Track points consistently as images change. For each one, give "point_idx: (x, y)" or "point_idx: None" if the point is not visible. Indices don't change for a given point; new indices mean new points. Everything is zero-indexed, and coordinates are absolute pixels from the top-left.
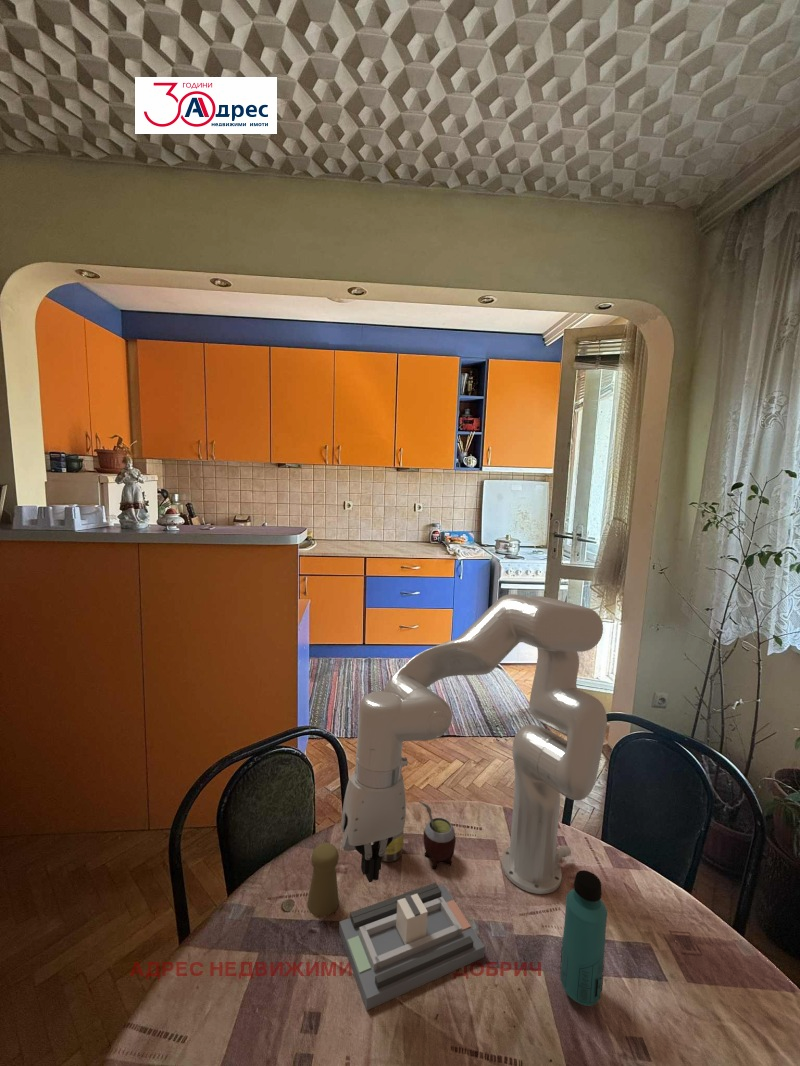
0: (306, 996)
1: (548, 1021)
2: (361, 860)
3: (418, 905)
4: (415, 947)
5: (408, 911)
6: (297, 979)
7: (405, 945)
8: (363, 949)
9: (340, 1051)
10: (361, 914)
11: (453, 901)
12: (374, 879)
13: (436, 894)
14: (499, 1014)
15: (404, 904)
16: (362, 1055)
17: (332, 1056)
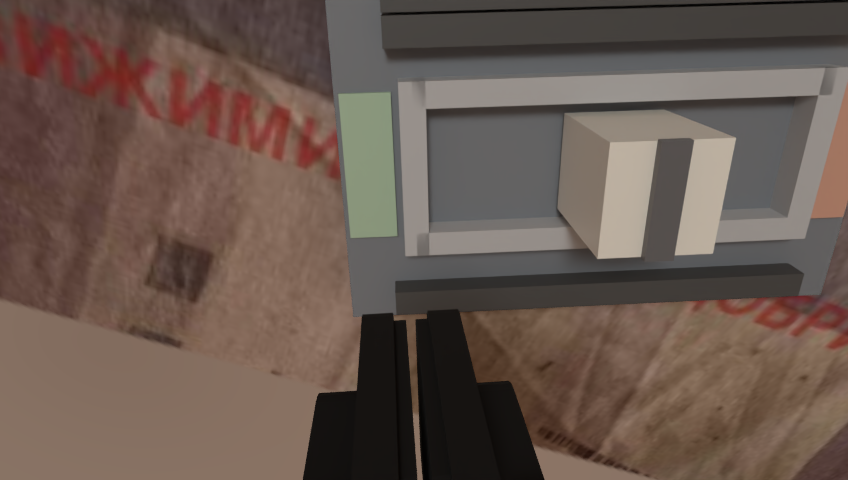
0: (167, 194)
1: (798, 453)
2: (308, 449)
3: (694, 207)
4: (586, 246)
5: (627, 221)
6: (134, 125)
7: (553, 230)
8: (392, 159)
9: (258, 358)
10: (431, 10)
11: None
12: (421, 461)
13: (837, 33)
14: (703, 409)
15: (631, 179)
16: (314, 382)
17: (234, 361)
